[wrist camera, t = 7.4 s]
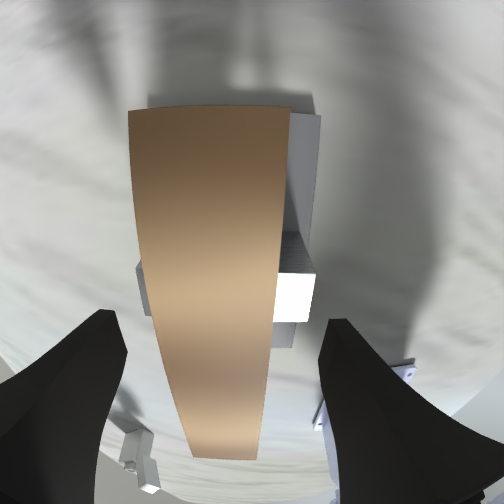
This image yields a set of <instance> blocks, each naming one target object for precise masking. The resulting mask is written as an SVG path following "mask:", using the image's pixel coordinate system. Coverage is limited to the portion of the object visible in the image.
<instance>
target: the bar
mask: <svg viewBox="0 0 504 504" xmlns="http://www.w3.org/2000/svg"><path fill="white" fill-rule="evenodd" d="M289 122H290V108H289V107H275V106H253V105H198V106H177V107H162V108H151V109H141V110H132V111H128V126H129V151H130V167H131V180H132V191H133V201H134V211H135V219H136V227H137V235H138V242H139V249H140V255H141V261H142V267H143V273H144V279H145V284H146V290H147V295H148V300H149V305H150V310H151V315H152V319H153V324H154V328H155V332H156V337H157V341H158V345H159V349H160V353H161V357H162V361H163V364H164V368H165V372H166V375H167V379H168V383H169V386H170V389H171V393H172V396H173V399H174V403H175V406H176V409H177V412H178V415H179V418H180V421H181V424H182V427H183V430H184V433H185V436H186V439H187V441H188V444H189V447H190V450H191V452H192V455H193V457H198V458H209V459H226V460H256V459H257V452H258V445H259V437H260V430H261V423H262V415H263V407H264V400H265V392H266V383H267V375H268V367H269V358H270V349H271V340H272V331H273V322H274V312H275V302H276V292H277V282H278V271H279V260H280V249H281V237H282V225H283V212H284V199H285V186H286V171H287V156H288V140H289Z"/></svg>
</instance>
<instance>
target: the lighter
mask: <svg viewBox="0 0 504 504" xmlns="http://www.w3.org/2000/svg"><path fill="white" fill-rule="evenodd" d="M153 439H154V434H153V433H151V432H149V431H147V430H146V429H143V428H142V429H139V430H135V431H132V432H129V433H126V435H125V438H124V442H123V446H122V450H121V454H120V458H119V463H120V464H123V465H125V466H124V470H126V471H128V472H130V473H137V477H138V486H139V488H140V489H142V490H144V491H147V492H150V493H153V492H155V491H156V490H158V489H159V488H161V486H160V481H159V476H158V470H157V465H156V461H155V460H154V459H152V458H150V453H151V448H152V443H153Z"/></svg>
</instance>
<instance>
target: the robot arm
mask: <svg viewBox="0 0 504 504" xmlns="http://www.w3.org/2000/svg"><path fill="white" fill-rule="evenodd" d="M127 353H128V351H127V348H126V346H125V343H124V340H123V336H122V333H121V330H120V327H119V324H118V321H117V317H116V314H115V311H113V310H104V309H99V310H98V311H96V312H95V313H94V314H92V315H91V316H90V317H89V318H88V319H86V320H85V321H84V322H83V323H82V324H80V325H79V326H78V327H77V328H76V329H74V330H73V331H72V332H71V333H70V334H68V335H67V336H66V337H65V338H64V339H63V340H61V341H60V342H59V343H58V344H57V345H55V346H54V347H53V348H52V349H50V350H49V351H48V352H46V353H45V354H44V355H43V356H41V357H40V358H39V359H38V360H36V361H35V362H34V363H32V364H31V365H30V366H28V367H27V368H25V369H24V370H22V371H21V372H19V373H18V374H16V375H15V376H13V377H11V378H10V379H8V380H6V381H5V382H3V383H1V384H0V504H94V487H95V473H96V465H97V457H98V452H99V446H100V441H101V436H102V432H103V428H104V425H105V422H106V419H107V416H108V414H109V411H110V408H111V405H112V402H113V400H114V397H115V394H116V391H117V389H118V386H119V383H120V380H121V378H122V374H123V370H124V366H125V362H126V357H127ZM318 365H319V374H320V382H321V388H322V392H323V396H324V401H323V404H322V406H321V408H320V411H319V413H318V416H317V418H316V420H315V423H314V425H313V430H316V431H317V430H323V435H324V440H325V446H326V452H327V458H328V464H329V470H330V475H331V478H332V480H333V482H334V483H335V484H336V485H337V486H338V487H339V488H340V489H338V490H336V491H335V493H336V499H334V500H332V501H331V503H330V504H481V502H480V501H481V500H483V499H484V498H485V495H484V492H483V490H484V489H486V488H487V487H489V486H490V485H492V484H494V483H495V482H497V481H498V480H499V479H501V478H502V477H504V444H502V443H500V442H497V441H495V440H492V439H490V438H488V437H485V436H483V435H481V434H479V433H477V432H475V431H473V430H471V429H469V428H467V427H466V426H464V425H462V424H460V423H459V422H457V421H455V420H454V419H452V418H451V417H449V416H448V415H446V414H445V413H443V412H442V411H440V410H439V409H437V408H436V407H435V406H433V405H432V404H431V403H429V402H428V401H427V400H426V399H424V398H423V397H422V396H421V395H420V394H418V393H417V392H416V391H415V390H414V389H412V388H411V387H410V386H409V385H408V382H409V381H410V379H411V378H412V376H413V374H414V373H415V371H416V369H417V368H416V366H415V365H406V366H399V367H392V368H390V367H389V366H388V365H387V364H386V362H385V361H384V360H383V359H382V358H381V357H380V356H379V355H378V354H377V353H376V352H375V351H374V350H373V348H372V347H371V346H370V345H369V344H368V343H367V342H366V341H365V339H364V338H363V337H362V336H361V335H360V334H359V333H358V331H357V330H356V329H355V328H354V327H353V326H352V324H351V323H350V322H349V321H348V320H347V319H329V321H328V325H327V329H326V332H325V336H324V340H323V344H322V347H321V351H320V355H319V358H318ZM484 504H504V492H502V493H501V494H499V495H497V496H496V497H494V498H493V499H491V500H490V501H488V502H486V503H484Z"/></svg>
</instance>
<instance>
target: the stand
mask: <svg viewBox="0 0 504 504" xmlns="http://www.w3.org/2000/svg"><path fill="white" fill-rule="evenodd" d="M320 123H321V116H320V115H311V114H301V113H290V122H289V140H288V156H287V171H286V186H285V199H284V212H283V225H282V237H281V249H280V260H279V271H278V282H277V292H276V302H275V312H274V322H273V331H272V340H271V348H292V344H293V339H294V333H295V327H296V322H307V320H308V315H309V309H310V304H311V299H312V293H313V287H314V282H315V276H316V273H315V270H314V267H313V265H312V262H311V259H310V257H309V254H308V251H307V249H308V241H309V234H310V226H311V217H312V209H313V200H314V190H315V181H316V171H317V160H318V148H319V136H320ZM136 274H137V279H138V284H139V289H140V294H141V299H142V303H143V308H144V312H145V316H152V315H151V310H150V305H149V300H148V295H147V290H146V284H145V279H144V273H143V267H142V261H141V260H140V262H139V264H138V265H137V267H136Z"/></svg>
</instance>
